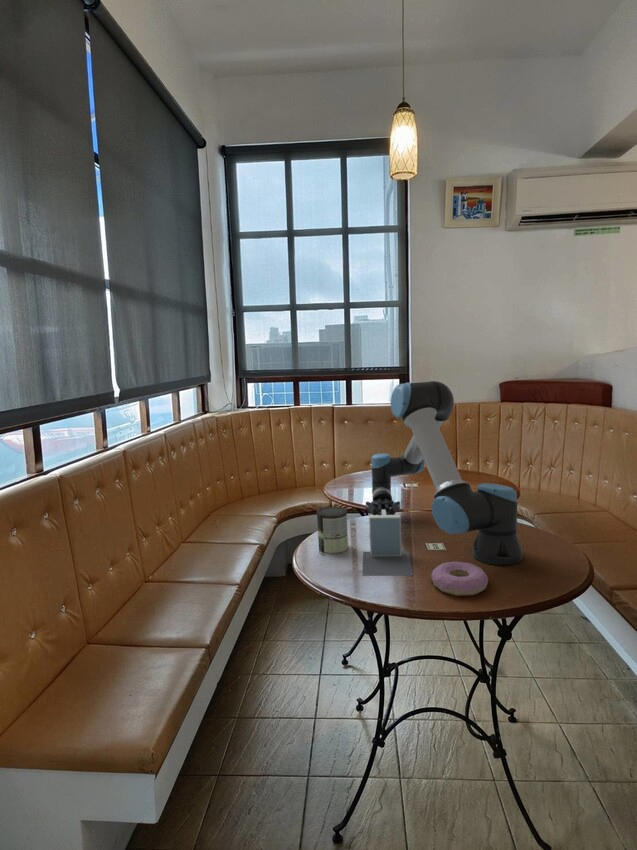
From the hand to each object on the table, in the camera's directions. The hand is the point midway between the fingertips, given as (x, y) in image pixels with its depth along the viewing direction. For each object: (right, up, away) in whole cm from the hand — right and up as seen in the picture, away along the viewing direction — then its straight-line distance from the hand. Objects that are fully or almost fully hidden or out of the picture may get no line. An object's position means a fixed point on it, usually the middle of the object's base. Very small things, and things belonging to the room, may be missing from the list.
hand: (384, 519), depth 171 cm
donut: (+17, -14, -29) cm, 37 cm away
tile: (0, -11, -6) cm, 12 cm away
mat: (-1, -12, -13) cm, 17 cm away
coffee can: (-17, -11, +2) cm, 21 cm away
